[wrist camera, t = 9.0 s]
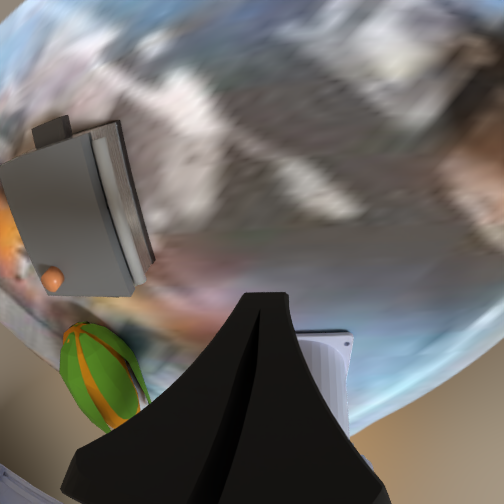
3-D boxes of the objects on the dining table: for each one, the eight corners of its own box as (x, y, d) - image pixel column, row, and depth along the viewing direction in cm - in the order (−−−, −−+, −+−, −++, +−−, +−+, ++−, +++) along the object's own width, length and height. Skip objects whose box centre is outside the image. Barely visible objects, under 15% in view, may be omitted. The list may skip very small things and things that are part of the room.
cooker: (160, 275, 22) (143, 302, 20) (84, 274, 24) (65, 298, 21) (116, 99, 16) (86, 107, 13) (36, 128, 17) (6, 140, 14)
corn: (90, 379, 19) (153, 468, 29) (133, 311, 25) (172, 420, 36) (26, 350, 20) (102, 448, 31) (71, 296, 26) (124, 404, 37)
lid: (150, 283, 19) (137, 307, 17) (56, 284, 20) (41, 303, 18) (106, 127, 14) (82, 136, 12) (9, 160, 15) (-14, 172, 13)
